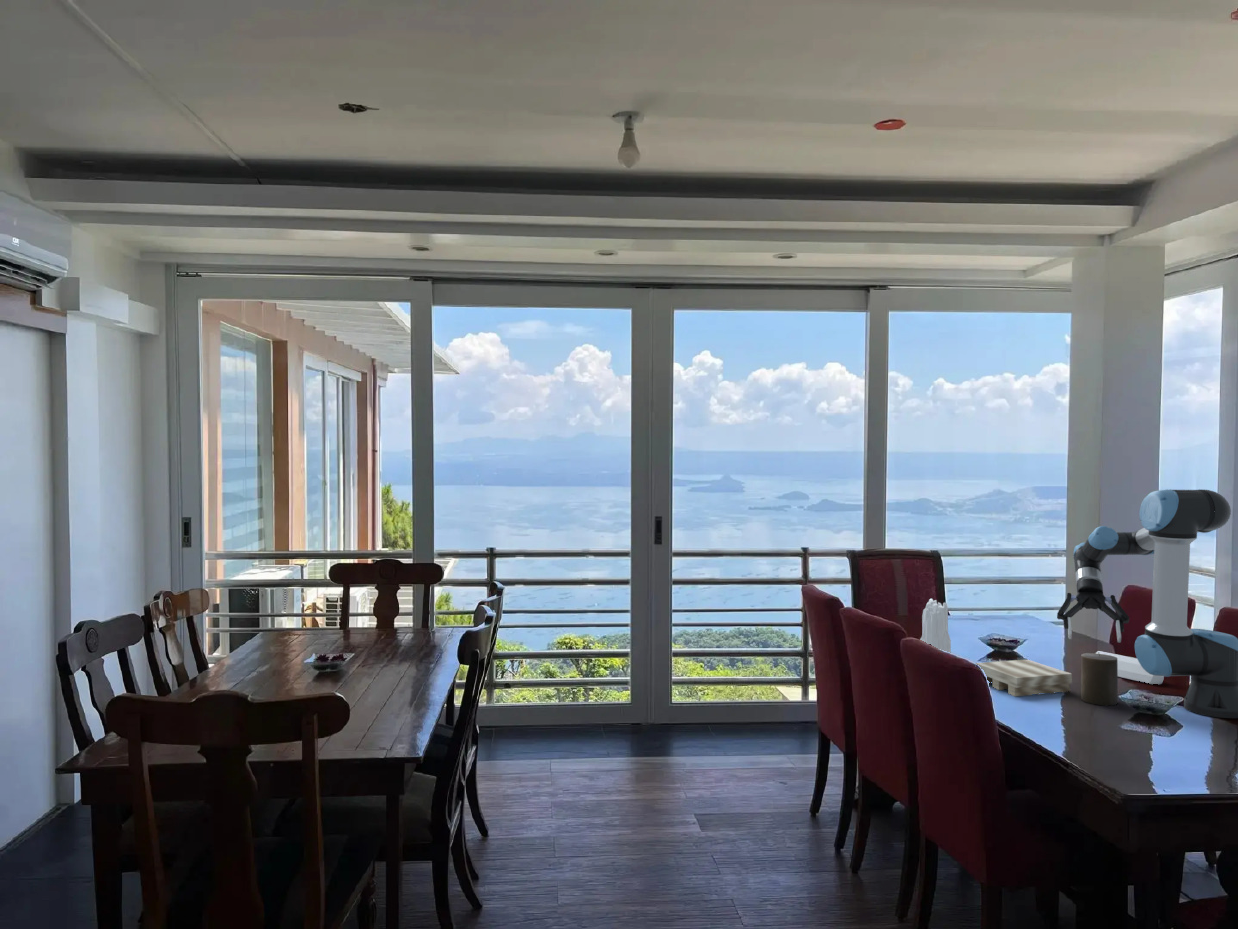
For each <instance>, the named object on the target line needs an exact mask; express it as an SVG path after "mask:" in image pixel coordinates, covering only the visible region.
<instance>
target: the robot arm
mask: <svg viewBox="0 0 1238 929" xmlns="http://www.w3.org/2000/svg"><path fill="white" fill-rule="evenodd" d="M1231 512H1232V510H1231V506H1230V503H1229V502H1228V501H1227V499H1226V498H1225V497H1224V496H1223V495H1222V494H1220V493H1219V492H1216V491H1213V490H1210V489H1200V488H1199V489H1161V490H1154V491H1151V492H1149V494H1147V495H1146V496H1145V497H1144V498H1143V500H1142V502H1141V505H1140V508H1139V520H1140V521H1141V522H1140V523H1141V526H1142V528H1141V529H1138V530H1136V531H1130V532H1129V531H1124V532H1123V531H1121V532H1119V531H1116V530H1115V529H1113V528H1112V527H1108V526H1106V525H1101V526H1098V527H1096V528H1094V529H1093V531H1092V532H1091V533H1090V534H1089V536H1088V538H1087V539H1086V541H1085V542H1081V543H1079V544H1077V545H1075V546H1074V547H1073V548H1074V549H1073V562H1074V571H1075V582H1076V594H1072V593H1071V592H1067V593H1066V599H1065V600H1064V602H1063V603H1062V604H1061V607H1060V608H1059V610H1058V611H1057V613H1056V617H1057V618H1056V619H1058V620H1062V622H1063V628H1064V629H1066V630H1067V634H1068V635H1067V636H1068V640H1072V636H1073V633H1072V632H1073V631H1072V620H1071V618H1072V617H1074V616H1075V615H1076V614H1077V613H1078V612H1079V611H1081V610H1083V609H1084V608H1085V610H1091V609H1092V610H1100V611H1101V612H1103V613H1104V614H1106V616H1108V617H1110V618H1111V619H1112V621H1114V622H1115V631H1116V639H1117V640H1116V641H1117V643H1121V642H1122V633H1124V631H1125V624H1129V622H1130V616H1129V615H1128V614H1127V613H1126V611H1125V610H1124V609H1123V608H1122V606H1121V605H1120V604H1119V602H1118V601H1117V599H1116V596H1115V595H1114V594H1111V595H1110V596H1105V595H1104V588H1103V579H1102V572H1101V571H1102V570H1101V563H1103V562H1104V560H1105V559H1106V558H1107V557H1108V556H1130V555H1131V556H1137V555H1138V556H1148V555H1153V571H1152V572H1153V574H1152V575H1153V576H1152V596H1151V597H1152V599H1151V600H1152V602H1151V621H1150V622H1149V623H1148V624H1146V625H1145V626H1144V634H1141V635H1139V636H1137V637H1136V639H1135V642H1134V652H1135V656H1136V657H1135V658H1137V659H1138V661H1139V663H1140V665H1141V666H1142V668H1143V669H1144V670H1145V671H1146V672H1148V673H1149V674H1151V675H1155V676H1164V678H1168V677H1185V676H1186V677H1190V684H1189V685H1188V688H1187V691H1186V695H1185V696H1184V698H1183V707H1184V709H1185V710H1187V711H1189V712H1191V711H1192V713H1194V712H1195V714H1199V715H1202V716H1207V717H1211V718H1212V717H1213V718H1222V719H1238V637H1237V636H1235V635H1233V634H1229V633H1226V632H1220V631H1218V630H1217V631H1216V630H1210V629H1204V628H1189V627H1188V606H1189V605H1188V603H1189V580H1190V578H1189V577H1190V559H1191V558H1190V557H1191V556H1190V554H1191V544H1192V543H1193V542H1194V541H1195V540H1197V539H1198V533H1201V534H1207V533H1210V532H1212V531H1216V530H1218V529H1221V528H1222V527H1224V526H1225V525H1226V524H1227V523H1228V522H1229V519H1231V515H1232V514H1231ZM1074 600H1076V601H1077V603H1076V604H1074V605H1073V607H1071V608H1070V609H1069V610H1068V608H1069V607H1070V605H1071V603H1073V602H1074ZM1106 602H1107V603H1108V604H1109V605H1111V607H1110V606H1109V605H1108V604H1107V603H1106Z"/></svg>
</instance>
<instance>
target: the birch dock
mask: <svg viewBox="0 0 1238 929" xmlns="http://www.w3.org/2000/svg"><path fill="white" fill-rule="evenodd" d="M976 664H977V665H979V666H980V667H981V669H983V670H984V672H985V674H986V676H987V680H988V681H989V682H990V684H991V682H992V688H993V687H994V688H993V689H995V688H996V689H995V690H998V691H1004V689H1007V692H1008V695H1010V694H1011V695H1010V696H1013V697H1023V696H1025V697H1027V696H1033V695H1032V694H1038V695H1040V694H1039V693H1050V694H1057V693H1056V692H1062V693H1069V692H1068V691H1070V689H1071V688H1070V687H1071V685H1070V684H1073V674H1072V673H1071V672H1068V671H1065V670H1061V669H1058V668H1055V667H1052V666H1049V665H1046V664H1043V663H1039V662H1037V661H1034V660H1030V659H1015V660H1002V661H1001V660H999V661H986V662H975V665H976ZM990 684H989V685H990ZM1066 691H1067V692H1066ZM1054 692H1055V693H1054ZM1070 692H1071V691H1070Z"/></svg>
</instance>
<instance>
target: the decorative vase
mask: <svg viewBox="0 0 1238 929" xmlns="http://www.w3.org/2000/svg"><path fill="white" fill-rule="evenodd" d="M948 610H949V609H948V603H947V602H945V601H944V602H943V603H941V602H939V601H938V600H937V599H935V600H934V599H933V598H930V599H928V601H927V603H926V605H925V608H924V609H923V610H922V616H921V619H922V620H921V623H922V624H921V625H922V635H921V637H920V638H919V639H920V640H922V641H924V642H926V643H927V644H931V645H932V646H934V647H936V648H938V649H941V650H944V651H947V652H950V653H951V654H952V651H951V650H952V649H951V648H952V646H951V645H952V643H951V642H952V640H951V637H950V634H949V615H948V614H949V612H948Z"/></svg>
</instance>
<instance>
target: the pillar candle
mask: <svg viewBox="0 0 1238 929" xmlns="http://www.w3.org/2000/svg"><path fill="white" fill-rule="evenodd" d="M1097 652H1098V651H1097ZM1095 653H1096V652H1095ZM1095 653H1090V652H1086V653H1082V654H1080V655H1081V660H1080V661H1081V662H1080V663H1081V665H1080V666H1081V667H1080V668H1081V669H1080V670H1081V673H1080V698H1081V700H1082V701H1083V702H1084V703H1088V704H1092V705H1100V706H1104V705H1110V706H1116V704H1117V703H1119V702H1118V701H1119V700H1118V699H1119V696H1118V694H1119V693H1118V685H1119V684H1118V683H1119V682H1118V678H1119V677H1118V663H1117V658H1116V657H1114V656H1111V655H1105V654H1095ZM1098 653H1099V652H1098ZM1117 705H1118V704H1117Z"/></svg>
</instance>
